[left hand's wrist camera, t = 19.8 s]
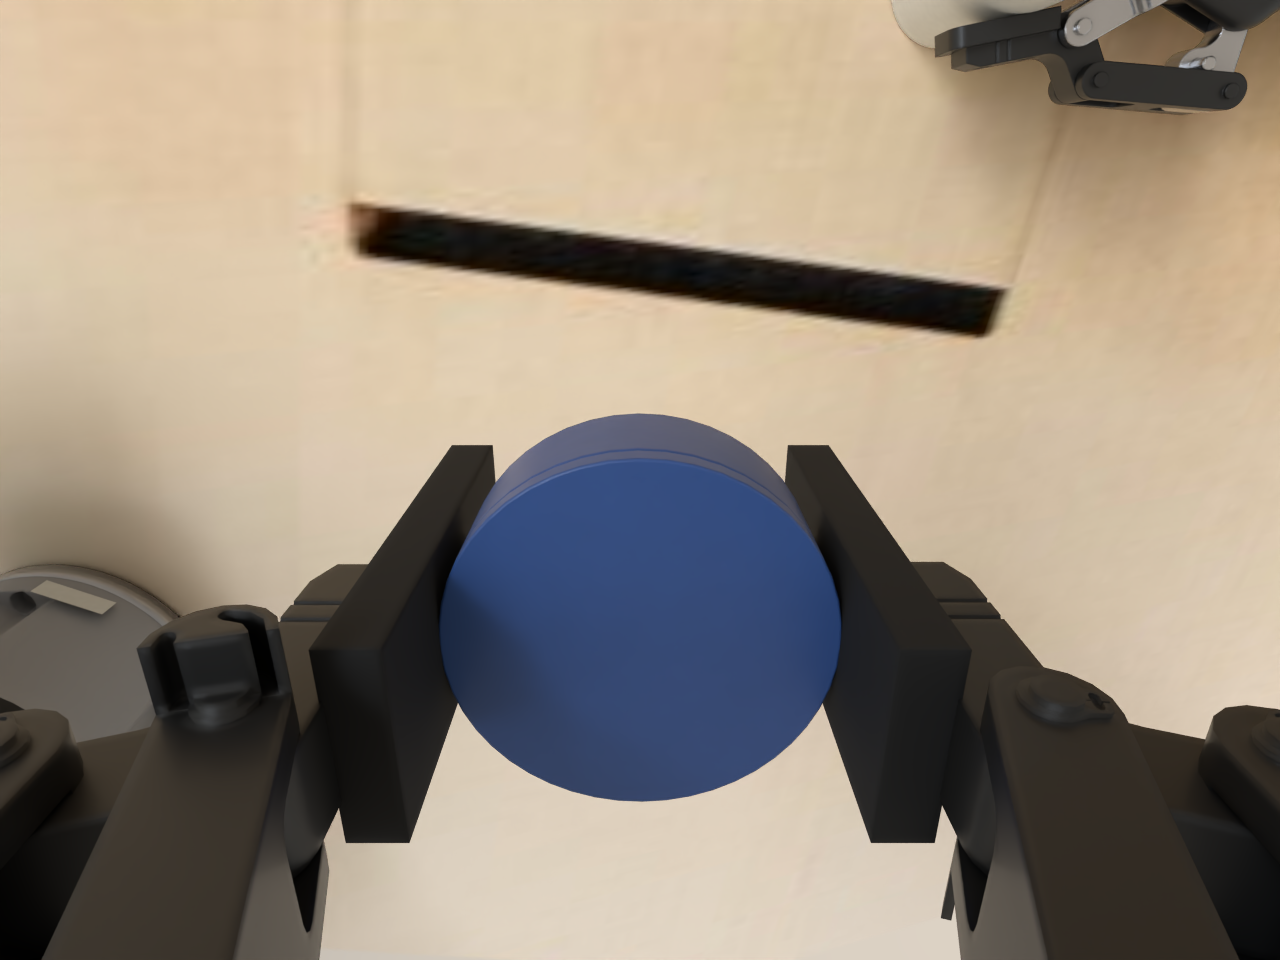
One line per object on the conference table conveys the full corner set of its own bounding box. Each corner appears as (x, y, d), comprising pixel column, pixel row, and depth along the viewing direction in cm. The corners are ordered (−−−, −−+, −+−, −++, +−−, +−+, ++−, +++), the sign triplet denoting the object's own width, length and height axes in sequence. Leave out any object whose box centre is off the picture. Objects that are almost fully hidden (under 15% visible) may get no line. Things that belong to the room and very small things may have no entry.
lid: (398, 579, 12) (355, 651, 10) (637, 334, 11) (635, 367, 9) (642, 767, 14) (642, 858, 12) (882, 574, 12) (926, 645, 10)
